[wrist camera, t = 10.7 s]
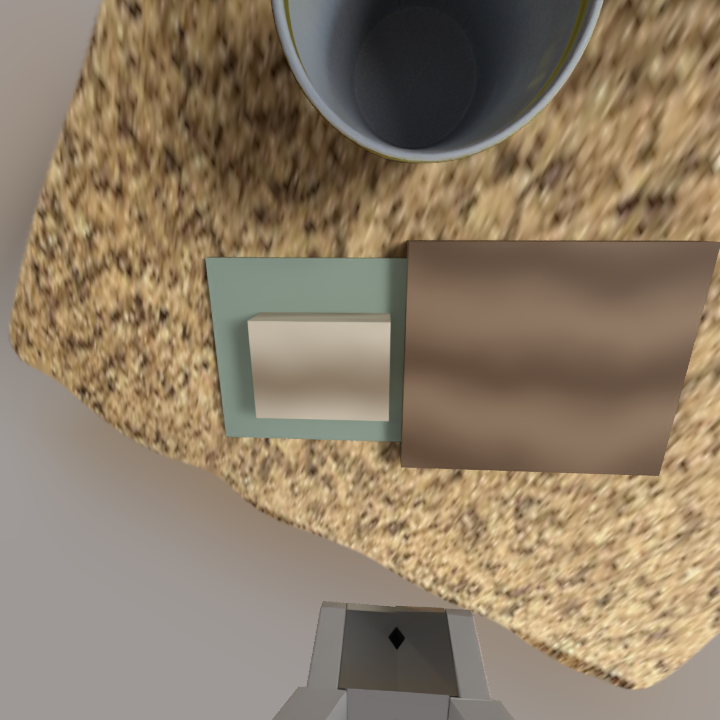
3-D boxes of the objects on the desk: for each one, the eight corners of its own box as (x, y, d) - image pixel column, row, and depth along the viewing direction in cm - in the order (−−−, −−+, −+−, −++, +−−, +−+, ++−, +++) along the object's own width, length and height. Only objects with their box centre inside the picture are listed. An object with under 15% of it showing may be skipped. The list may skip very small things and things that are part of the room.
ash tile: (260, 311, 25) (247, 321, 23) (390, 313, 25) (390, 322, 22) (267, 401, 27) (256, 417, 25) (388, 403, 27) (388, 421, 24)
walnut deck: (407, 240, 24) (409, 241, 22) (693, 240, 23) (721, 242, 21) (400, 450, 28) (401, 467, 26) (639, 458, 27) (658, 475, 25)
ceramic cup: (422, 225, 24) (446, 226, 14) (282, 104, 22) (204, 13, 13) (599, 6, 20) (793, -190, 10) (446, -157, 18) (510, -562, 9)
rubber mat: (208, 257, 25) (205, 257, 24) (406, 258, 24) (407, 258, 24) (228, 433, 29) (226, 436, 28) (400, 438, 28) (400, 441, 27)
